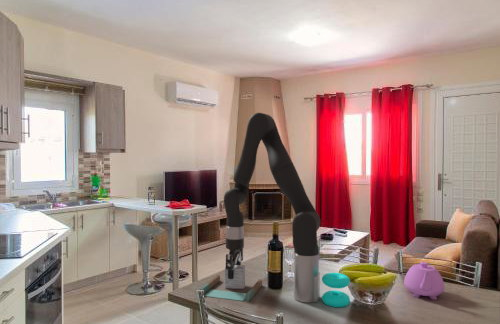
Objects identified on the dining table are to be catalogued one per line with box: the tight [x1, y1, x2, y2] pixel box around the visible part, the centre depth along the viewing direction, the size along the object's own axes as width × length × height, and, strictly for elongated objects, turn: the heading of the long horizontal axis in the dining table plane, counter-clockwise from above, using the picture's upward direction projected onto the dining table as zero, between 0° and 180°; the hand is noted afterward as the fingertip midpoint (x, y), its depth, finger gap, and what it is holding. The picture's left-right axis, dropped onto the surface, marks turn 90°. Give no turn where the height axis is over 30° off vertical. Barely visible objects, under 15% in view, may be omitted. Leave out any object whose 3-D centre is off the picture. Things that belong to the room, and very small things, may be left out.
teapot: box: [403, 261, 445, 301], centre depth 141 cm, size 20×14×12 cm
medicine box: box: [224, 264, 246, 290], centre depth 151 cm, size 8×4×9 cm, turn 84°
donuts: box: [321, 272, 351, 308], centre depth 134 cm, size 10×10×10 cm
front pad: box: [203, 288, 247, 302], centre depth 142 cm, size 16×7×1 cm, turn 72°
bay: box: [198, 274, 263, 303], centre depth 147 cm, size 20×18×2 cm
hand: (234, 275), depth 151 cm, fingers open, 8 cm apart
